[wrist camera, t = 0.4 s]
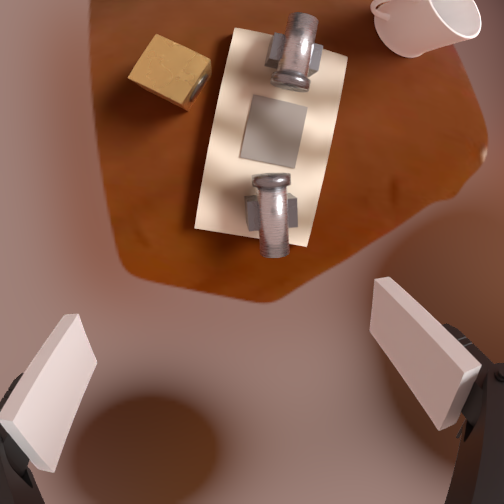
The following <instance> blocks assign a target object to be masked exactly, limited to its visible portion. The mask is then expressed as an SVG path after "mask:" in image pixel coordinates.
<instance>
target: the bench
mask: <svg viewBox="0 0 504 504" xmlns="http://www.w3.org/2000/svg"><path fill="white" fill-rule="evenodd" d="M272 37H273V35H269V34H265V33H260V32H255V31H250V30H245V29H240V28H235V29H234V33H233V37H232V41H231V45H230V49H229V53H228V58H227V62H226V66H225V70H224V75H223V79H222V84H221V88H220V93H219V97H218V102H217V107H216V111H215V116H214V121H213V126H212V131H211V136H210V141H209V146H208V152H207V157H206V162H205V168H204V173H203V179H202V185H201V191H200V197H199V203H198V209H197V215H196V221H195V228H196V229H202V230H208V231H214V232H221V233H227V234H233V235H239V236H246V237H252V238H258V239H259V231H249V230H248V227H247V224H246V215H245V201H244V196H252V195H257V191H256V187H253V186H252V177H251V176H252V175H255V174H262V173H290V174H291V185H289V186H287V193H291V194H292V195H293V196H295V197H296V198H297V208H298V227H294V228H289V244H294V245H300V246H306V247H307V244H308V240H309V236H310V232H311V228H312V224H313V220H314V216H315V212H316V208H317V204H318V199H319V195H320V191H321V187H322V182H323V178H324V173H325V169H326V165H327V160H328V155H329V151H330V146H331V142H332V137H333V132H334V127H335V122H336V118H337V113H338V108H339V102H340V97H341V92H342V87H343V81H344V76H345V70H346V65H347V59H348V57H346V56H343V55H340V54H337V53H334V52H331V51H328V50H325V49H323V50H322V55H321V60H320V65H319V70H318V72H316V73H315V74H313V75H312V76H310V77H307V78H308V79H309V80H310V81H311V83H310V88H309V91H308V92H294V91H288V90H284V89H281V88H278V87H275V86H273V85H271V84H270V81H271V76H272V73H273V72H277V69H274V68H270V67H266V66H264V65H265V60H266V56H267V51H268V47H269V42H270V41H271V39H272Z"/></svg>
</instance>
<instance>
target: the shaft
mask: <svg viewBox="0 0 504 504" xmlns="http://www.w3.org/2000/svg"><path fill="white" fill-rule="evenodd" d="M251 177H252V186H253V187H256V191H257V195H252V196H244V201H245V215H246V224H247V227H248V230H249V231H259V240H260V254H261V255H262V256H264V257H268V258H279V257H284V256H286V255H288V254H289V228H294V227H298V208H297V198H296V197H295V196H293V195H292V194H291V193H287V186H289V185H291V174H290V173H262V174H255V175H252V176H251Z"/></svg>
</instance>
